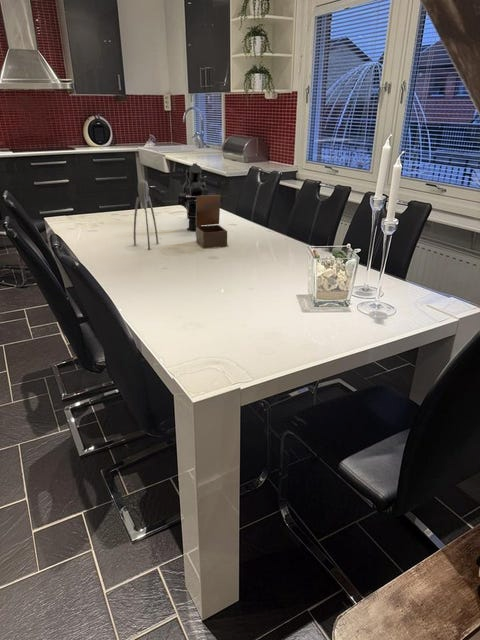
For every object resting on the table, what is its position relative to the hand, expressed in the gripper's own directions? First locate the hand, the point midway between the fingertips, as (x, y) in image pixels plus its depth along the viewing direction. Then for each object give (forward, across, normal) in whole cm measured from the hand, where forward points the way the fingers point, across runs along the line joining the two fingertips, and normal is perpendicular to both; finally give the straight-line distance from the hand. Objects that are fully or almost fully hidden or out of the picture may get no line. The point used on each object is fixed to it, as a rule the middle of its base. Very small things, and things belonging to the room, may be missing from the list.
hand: (198, 211), depth 230 cm
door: (+5, +4, -6) cm, 9 cm away
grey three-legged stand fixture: (+18, -27, +3) cm, 33 cm away
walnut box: (+18, +5, +2) cm, 19 cm away
